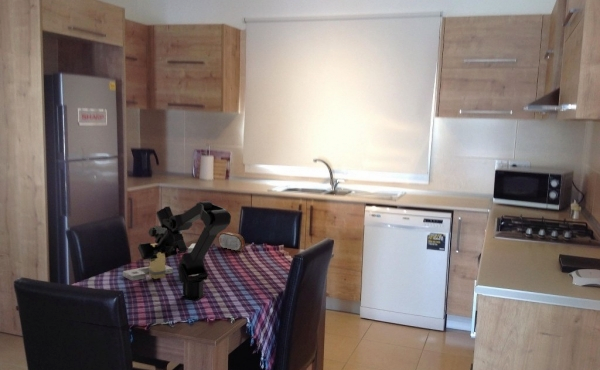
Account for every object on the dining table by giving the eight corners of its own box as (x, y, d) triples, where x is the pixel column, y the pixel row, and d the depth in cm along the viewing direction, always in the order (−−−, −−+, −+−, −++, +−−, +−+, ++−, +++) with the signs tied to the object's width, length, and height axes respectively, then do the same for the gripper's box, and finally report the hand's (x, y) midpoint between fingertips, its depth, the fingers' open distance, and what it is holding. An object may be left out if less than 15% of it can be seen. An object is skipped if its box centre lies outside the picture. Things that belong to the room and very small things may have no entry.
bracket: (173, 272, 220) (173, 268, 219) (132, 280, 207) (132, 275, 207) (163, 268, 225) (163, 263, 225) (122, 276, 213) (122, 270, 213)
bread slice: (244, 251, 259) (245, 234, 258) (240, 252, 256) (241, 235, 255) (221, 246, 267) (221, 230, 266) (217, 247, 264) (217, 231, 263)
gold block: (165, 276, 211) (165, 244, 209) (154, 278, 208) (154, 246, 206) (159, 274, 214) (159, 242, 212) (149, 276, 211) (149, 244, 209)
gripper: (183, 218, 211) (169, 239, 221) (140, 223, 199) (126, 246, 208) (194, 241, 207) (179, 262, 216) (150, 247, 194) (136, 270, 203)
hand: (155, 259), depth 211 cm, fingers closed on gold block, 4 cm apart
